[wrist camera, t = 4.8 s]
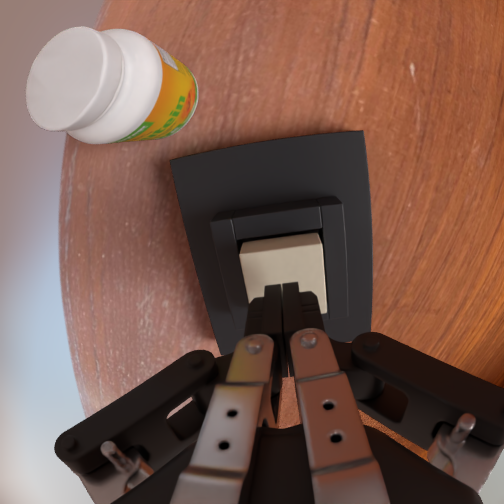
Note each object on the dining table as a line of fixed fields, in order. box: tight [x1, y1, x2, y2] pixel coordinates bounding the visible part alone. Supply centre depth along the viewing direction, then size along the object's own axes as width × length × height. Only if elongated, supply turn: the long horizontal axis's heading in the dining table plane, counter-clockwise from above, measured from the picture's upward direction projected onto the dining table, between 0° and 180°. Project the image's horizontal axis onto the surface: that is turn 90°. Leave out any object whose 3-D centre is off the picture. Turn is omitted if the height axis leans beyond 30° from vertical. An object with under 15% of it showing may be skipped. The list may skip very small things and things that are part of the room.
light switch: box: [170, 130, 373, 355], centre depth 17 cm, size 14×11×4 cm
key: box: [239, 232, 327, 314], centre depth 15 cm, size 4×4×2 cm
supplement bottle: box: [26, 27, 198, 144], centre depth 11 cm, size 5×5×10 cm
